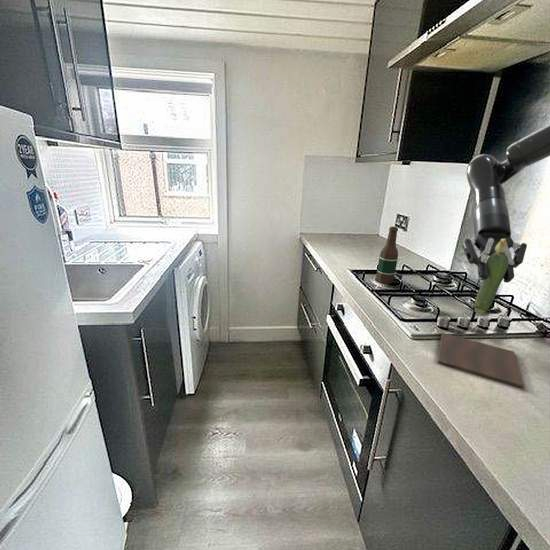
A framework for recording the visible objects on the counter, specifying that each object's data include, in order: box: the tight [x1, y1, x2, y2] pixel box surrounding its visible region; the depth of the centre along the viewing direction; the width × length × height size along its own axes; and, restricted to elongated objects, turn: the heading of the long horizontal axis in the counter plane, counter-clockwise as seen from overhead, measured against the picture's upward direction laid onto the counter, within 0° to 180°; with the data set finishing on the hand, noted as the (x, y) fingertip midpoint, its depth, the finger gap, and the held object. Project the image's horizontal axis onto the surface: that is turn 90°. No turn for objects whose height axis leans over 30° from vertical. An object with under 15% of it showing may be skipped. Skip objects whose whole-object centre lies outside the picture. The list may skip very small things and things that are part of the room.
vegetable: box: [474, 238, 509, 314], centre depth 74 cm, size 4×4×20 cm
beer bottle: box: [375, 226, 399, 285], centre depth 128 cm, size 8×8×24 cm
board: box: [437, 332, 524, 389], centre depth 82 cm, size 18×16×1 cm
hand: (496, 279), depth 72 cm, fingers closed on vegetable, 4 cm apart
